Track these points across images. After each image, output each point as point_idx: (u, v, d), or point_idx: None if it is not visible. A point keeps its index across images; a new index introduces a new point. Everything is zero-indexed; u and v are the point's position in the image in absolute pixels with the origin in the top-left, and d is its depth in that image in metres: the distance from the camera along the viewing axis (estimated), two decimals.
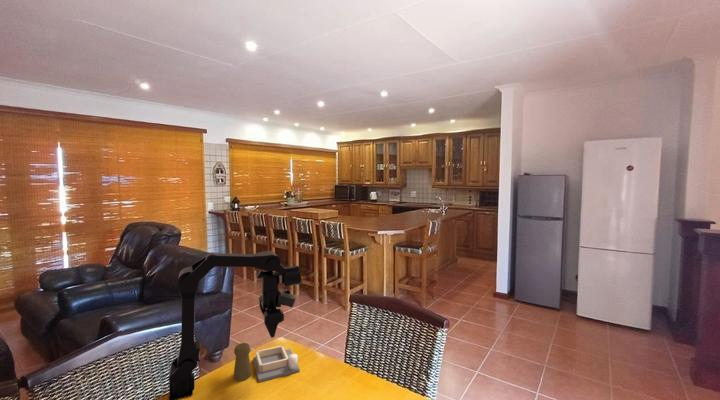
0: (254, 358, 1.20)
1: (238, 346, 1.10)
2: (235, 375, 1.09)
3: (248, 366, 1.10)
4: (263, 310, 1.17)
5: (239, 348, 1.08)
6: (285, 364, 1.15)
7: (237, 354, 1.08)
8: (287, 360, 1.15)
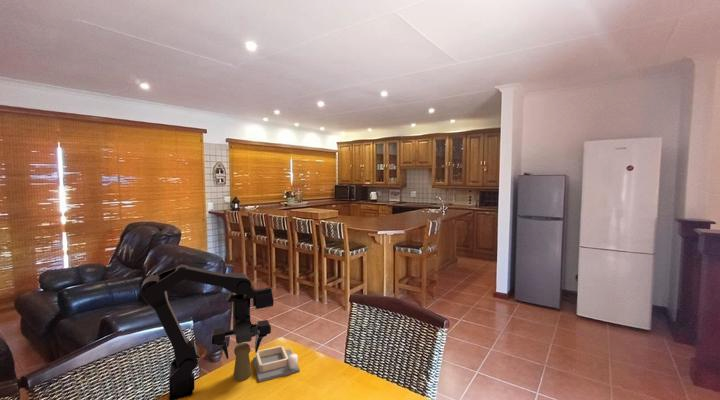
0: (254, 358, 1.20)
1: (238, 346, 1.10)
2: (235, 375, 1.09)
3: (248, 366, 1.10)
4: None
5: (239, 348, 1.08)
6: (285, 364, 1.15)
7: (237, 354, 1.08)
8: (287, 360, 1.15)
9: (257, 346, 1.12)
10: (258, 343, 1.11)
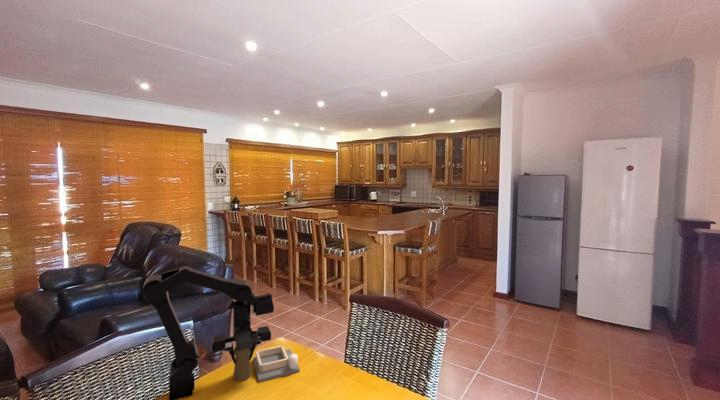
0: (254, 358, 1.20)
1: None
2: (235, 375, 1.09)
3: (248, 366, 1.10)
4: None
5: None
6: (285, 364, 1.15)
7: (237, 354, 1.08)
8: (287, 360, 1.15)
9: (251, 354, 1.11)
10: (252, 351, 1.11)
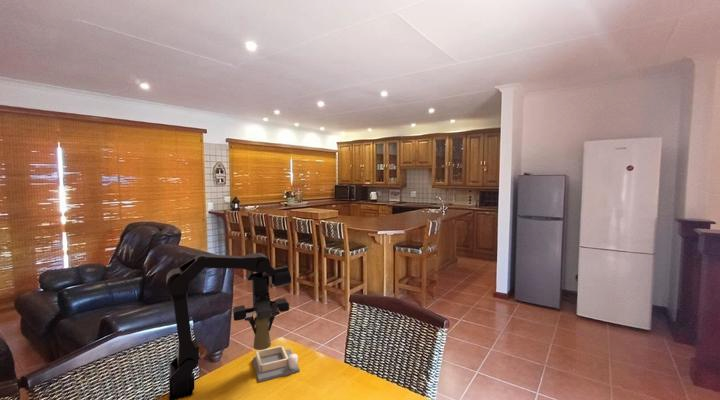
0: (254, 358, 1.20)
1: None
2: (255, 344, 1.12)
3: (268, 336, 1.14)
4: None
5: None
6: (285, 364, 1.15)
7: (257, 324, 1.12)
8: (287, 360, 1.15)
9: (270, 324, 1.14)
10: (271, 321, 1.14)
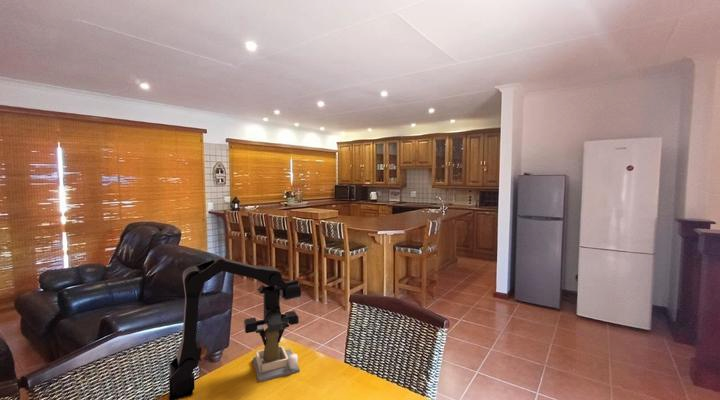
0: (254, 358, 1.20)
1: None
2: (265, 356, 1.15)
3: (277, 348, 1.17)
4: None
5: None
6: (285, 364, 1.15)
7: (267, 336, 1.14)
8: (287, 360, 1.15)
9: (280, 336, 1.17)
10: (281, 334, 1.17)
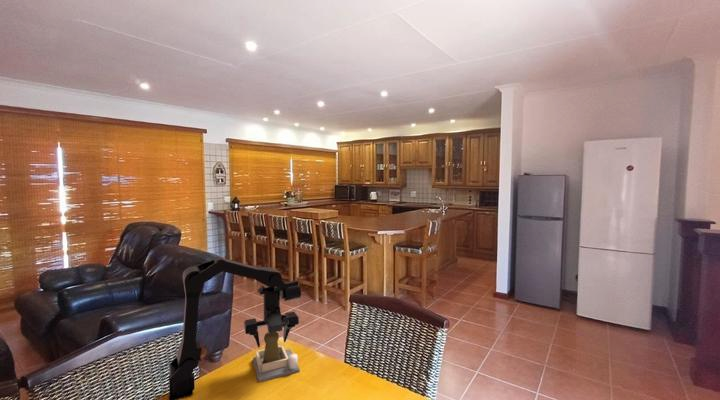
0: (254, 358, 1.20)
1: (268, 334, 1.16)
2: (265, 361, 1.15)
3: (277, 352, 1.17)
4: None
5: (269, 335, 1.15)
6: (285, 364, 1.15)
7: (267, 341, 1.15)
8: (287, 360, 1.15)
9: (286, 336, 1.18)
10: (287, 333, 1.18)
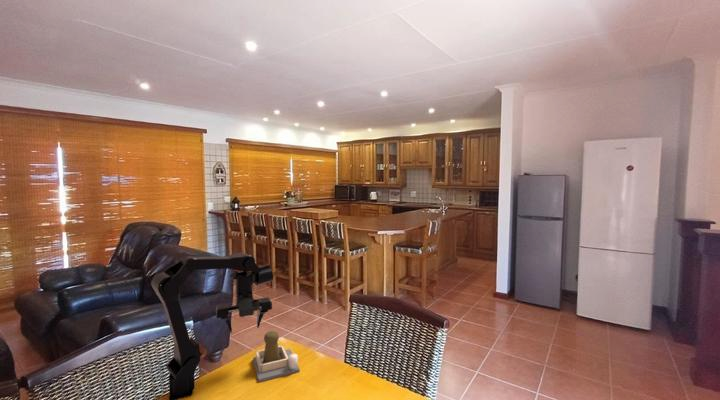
0: (254, 358, 1.20)
1: (268, 334, 1.16)
2: (265, 361, 1.15)
3: (277, 352, 1.17)
4: (258, 310, 1.20)
5: (269, 335, 1.15)
6: (285, 364, 1.15)
7: (267, 341, 1.15)
8: (287, 360, 1.15)
9: (259, 321, 1.18)
10: (260, 318, 1.18)
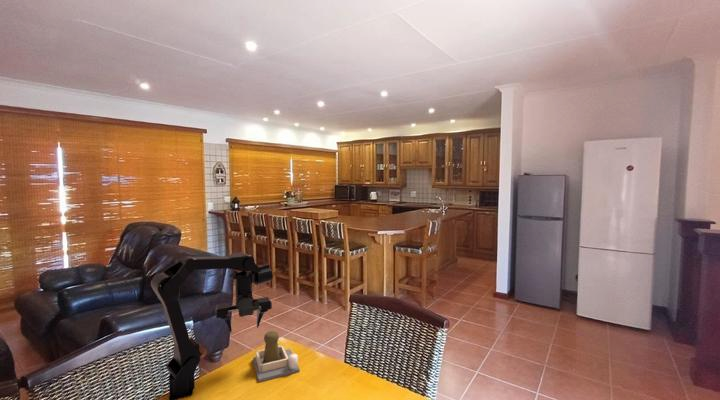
0: (254, 358, 1.20)
1: (268, 334, 1.16)
2: (265, 361, 1.15)
3: (277, 352, 1.17)
4: (257, 310, 1.20)
5: (269, 335, 1.15)
6: (285, 364, 1.15)
7: (267, 341, 1.15)
8: (287, 360, 1.15)
9: (259, 321, 1.18)
10: (259, 318, 1.18)
